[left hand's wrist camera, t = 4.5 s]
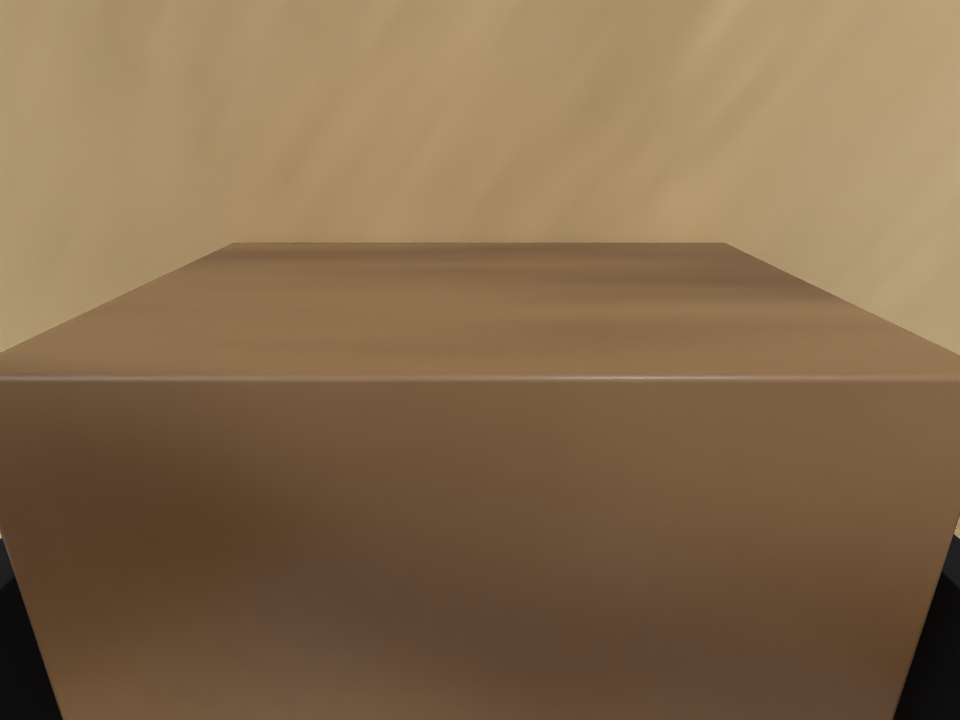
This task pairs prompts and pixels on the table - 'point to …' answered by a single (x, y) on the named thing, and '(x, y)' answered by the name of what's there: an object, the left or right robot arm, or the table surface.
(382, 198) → the table surface
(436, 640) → the slab
